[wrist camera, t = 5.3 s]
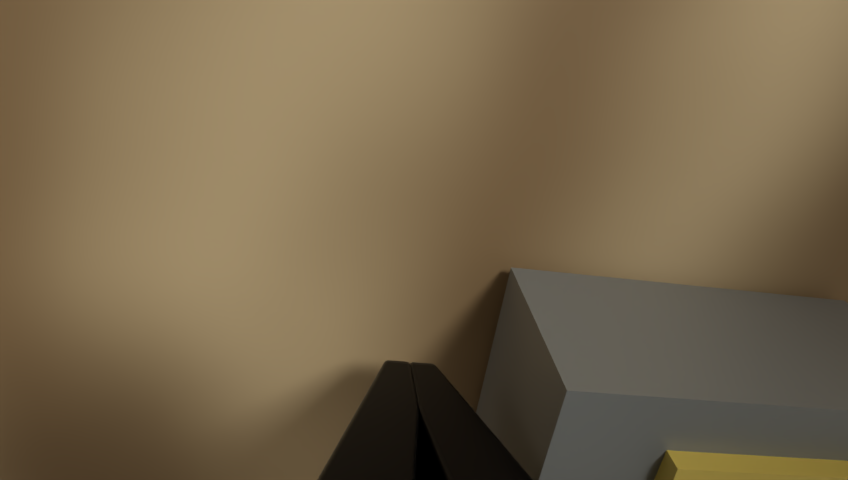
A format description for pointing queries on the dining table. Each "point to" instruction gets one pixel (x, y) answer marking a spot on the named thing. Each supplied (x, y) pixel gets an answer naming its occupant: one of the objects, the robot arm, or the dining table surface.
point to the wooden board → (372, 200)
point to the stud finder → (667, 381)
